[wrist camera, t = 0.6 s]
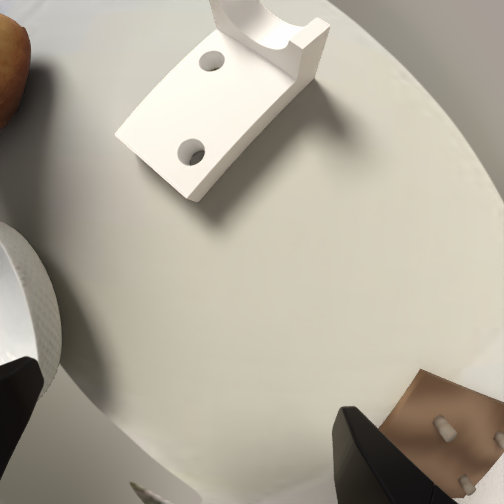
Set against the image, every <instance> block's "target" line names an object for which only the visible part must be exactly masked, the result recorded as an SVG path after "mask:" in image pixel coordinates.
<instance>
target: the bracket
mask: <svg viewBox="0 0 504 504" xmlns="http://www.w3.org/2000/svg"><path fill="white" fill-rule="evenodd" d="M209 2H210V5H211V9H212V12H213V16H214V20H215V23H216V27H217V29H216V30H215V31H214V32H213V33H212V34H210V35H209V36H208V37H207V38H206V39H205V40H203V41H202V42H201V43H200V44H199V45H198V46H197V47H196V48H195V49H193V50H192V51H191V52H190V53H189V54H188V55H187V56H186V57H185V58H184V59H183V60H182V61H181V62H180V63H179V64H178V65H177V66H176V67H175V68H174V69H173V70H172V71H171V72H170V73H169V74H168V75H167V76H166V77H165V78H164V79H163V80H162V81H161V82H160V83H159V84H158V85H157V86H156V87H155V88H154V89H153V90H152V91H151V92H150V94H149V95H148V96H147V97H146V98H145V99H144V100H143V101H142V102H141V104H140V105H139V106H138V107H137V108H136V109H135V110H134V112H133V113H132V114H131V115H130V116H129V117H128V119H127V120H126V121H125V122H124V123H123V125H122V126H121V127H120V128H119V129H118V131H117V132H116V133H115V134H114V135H115V136H116V137H117V138H119V139H120V140H121V141H122V142H123V143H124V144H125V145H126V146H128V147H129V148H130V149H131V150H132V151H133V152H134V153H135V154H137V155H138V156H139V157H140V158H141V159H142V160H143V161H144V162H146V163H147V164H148V165H149V166H150V167H151V168H152V169H153V170H155V171H156V172H157V173H158V174H159V175H160V176H161V177H162V178H164V179H165V180H166V181H167V182H168V183H169V184H170V185H171V186H173V187H174V188H175V189H176V190H177V191H178V192H179V193H181V194H182V195H183V196H184V197H185V198H186V199H189V200H192V201H195V202H199V201H200V200H201V199H202V197H203V196H204V195H205V194H206V193H207V192H208V190H209V189H210V188H211V187H212V186H213V185H214V184H215V182H216V181H217V180H218V179H219V178H220V177H221V176H222V174H223V173H224V172H225V171H226V170H227V169H228V168H229V167H230V165H231V164H232V163H233V162H234V161H235V160H236V159H237V158H238V157H239V155H240V154H241V153H242V152H243V151H244V150H245V149H246V148H247V147H248V146H249V145H250V143H251V142H252V141H253V140H254V139H255V138H256V137H257V136H258V135H259V134H260V133H261V132H262V131H263V130H264V129H265V127H266V126H267V125H268V124H269V123H270V122H271V121H272V120H273V119H274V118H275V117H276V116H277V115H278V114H279V113H280V112H281V111H282V110H283V109H284V108H285V107H286V106H287V105H288V104H289V103H290V102H291V101H292V100H293V99H294V98H295V97H296V96H297V95H298V94H299V93H300V92H301V91H302V90H303V89H304V88H305V87H306V86H307V85H308V84H309V83H310V82H311V81H312V80H313V79H314V77H315V74H316V71H317V68H318V65H319V61H320V58H321V55H322V52H323V49H324V46H325V42H326V39H327V36H328V33H329V30H330V25H329V24H327V23H326V22H324V21H323V20H321V19H320V18H318V17H317V18H315V19H314V20H313V21H311V22H310V23H309V24H308V25H306V26H305V27H298V26H294V25H291V24H288V23H286V22H284V21H282V20H280V19H279V18H277V17H276V16H274V15H273V14H272V13H270V12H269V11H268V10H267V9H266V8H265V7H264V6H263V5H262V4H261V3H260V2H259V1H258V0H209ZM214 68H220V69H218V70H216V71H210V70H212V69H214ZM198 151H205V155H204V157H203V159H202V160H201V161H200V162H199V163H198V164H196V165H192V166H190V159H191V157H192V156H193V154H194V153H196V152H198Z"/></svg>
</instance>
